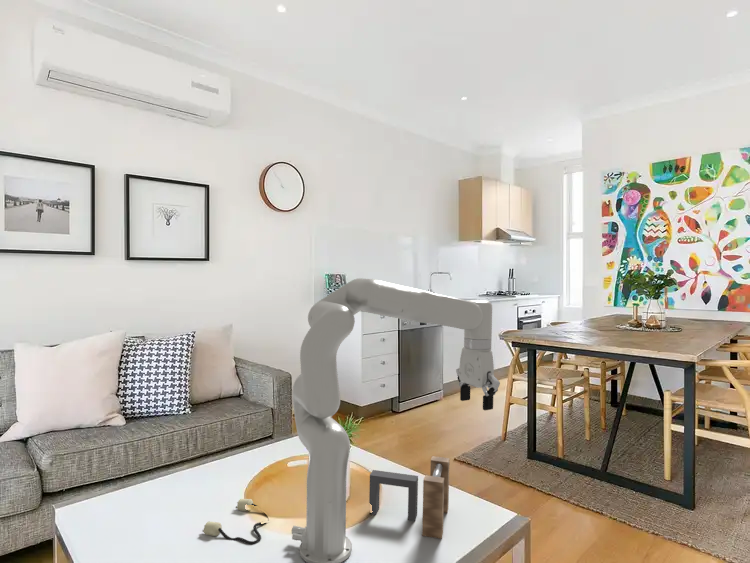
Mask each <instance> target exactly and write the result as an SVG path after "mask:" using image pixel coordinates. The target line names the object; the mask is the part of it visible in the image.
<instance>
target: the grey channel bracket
mask: <svg viewBox="0 0 750 563" xmlns="http://www.w3.org/2000/svg"><path fill="white" fill-rule="evenodd" d="M380 485H387V486H395V487H401V488H408V494H407V495H408V496H407V498H408V499H407V521H411V522H416V519H417V518H418V504H419V503H418V499H419V498H418V497H419V496H418V494H419V493H418V492H419V490H418V489H419V475H414V474H406V473H397V472H391V471H384V470H376V469H373V470H371V472H370V474H369V492H368V493H369V496H368V497H369V500H368V504H369V503H370V504H371V505H372V511H373V512H372V514H371V515H374V516H377V515H378V512H379V510H380V488H381V487H380Z"/></svg>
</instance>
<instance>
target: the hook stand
mask: <svg viewBox="0 0 750 563" xmlns="http://www.w3.org/2000/svg"><path fill="white" fill-rule="evenodd" d="M450 460H451V458H450V457H443V456H442V457H441V456H434V455H432V456H431V458H430V469H429V470H430V472H429V473H430V475H427V474H426V475H425V476H424V478H423V480H422V482H423V485H422V525H421V526H422V528H421V529H422V532H421V533H422V534H421V536H423V537H427V538H434V539H439V540H442V539H443V535H444V514H448V512H449V506H450V505H449V504H450V503H449V502H450V501H449V498H450V497H449V494H450Z"/></svg>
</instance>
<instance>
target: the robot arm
mask: <svg viewBox="0 0 750 563" xmlns="http://www.w3.org/2000/svg"><path fill="white" fill-rule="evenodd" d="M359 312H364V313H368V314H374V315H378V316H383V317H388V318H394V319H399V320H404V321H409V322H414V323H425V324H432V325H438V326H444V327H448V328H454V329H459V330H463V334H464V335H463V339H464V340H463V346H462V348H461V352H460V353H461V354H460V358H459V367H458V368H456V369H455V372H456V376H457V381H458V385H459V387H460V388H459V390H460V391H459V392H460V397H459V401H461V402H465V401H470V400H471V387H474V388H479V389H482V391H483V395H482V410H483V411H489V410H493V409H494V396H496V393H497V392H498V390H499V387H500V384H501V382H500V381H499V379H498V378H497V377H495V374H494V373H495V367H494V365H495V364H494V356H493V351H492V333H493V304H492V302H491V301H489V300H483V299H470V300H466V299H460V298H457V297H452V296H447V295H443V294H438V293H434V292H431V291H428V290H427V291H426V290H424V289H419V288H415V287H410V286H406V285H402V284H398V283H394V282H393V283H392V282H388V281H385V280H384V281H383V280H379V279H373V278H363V277H362V278H361V277H359V278H355V279H352V280H351V281H349V282H346V283H345V284H344V285H342V286H340V287H339V288H337V289H336V290H334V291H333V292H331V293H330V294H328V295H326V296H325V297H323V298H321V299H320V300H318V301H317V302H315V303H314V304H313V306H311V308H310V309H309V312H308V314H307V321H308V325H309V329H308V331H307V333H306V334H305V336H304V337H303V340H302V343H301V346H300V352H299V353H300V354H299V359H300V360H299V361H300V362H299V363H300V374H299V375H298V376H297V378H296V379H295V380H294V382H293V385H292V394H291V395H292V403H293V404H292V406H293V413H294V421H295V427H296V428H295V429H296V432H297V437H298V439H299V441H300V443H301V444H302V445H303V446H304V447H305V448H306V450H307V452H308V454H309V463H308V466H307V474H306V519H305V520H306V522H305V523H306V524H305V525H306V526H304V527H301V526H299V525H293V526H292V527H291V539H292V540H294V541H300V542H301V543H300V544H299V555H300V557H301V559H302V560H303V561H305V562H306V563H343V562H344V561H346V560H347V559H348V558H349V557H350V555H351V554H352V552H353V551H352V550H353V549H352V548H353V546H352V545H353V543H352V541H351V540H350V538H348V536H346V534H347V533H346V530H347V529H346V528H347V527H346V526H347V525H346V524H347V523H346V522H347V520H346V519H347V473H348V472H347V470H348V462H349V456H350V450H351V441H350V437H349V435H348V433H347V431H346V430H345V428H344V427H343V426H342V425H341V424H340V422H339V423H338V422H337V421H336V420H335V419H334V418H333V416H335V414H336V413H337V412H338V410H339V409H340V407H341V406H340V405H341V390H340V384H339V377H338V375H339V374H338V368H337V367H338V366H337V355H338V354H337V353H338V349H339V347H340V346H341V345H342V343H343V342H344V340H346V339H347V337H349V335H351V333H352V331H353V330H354V327H355V322H356V321H355V315H356V314H358V313H359Z"/></svg>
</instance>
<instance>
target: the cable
mask: <svg viewBox="0 0 750 563" xmlns="http://www.w3.org/2000/svg"><path fill="white" fill-rule="evenodd" d="M236 504H237V506H235V509H237V510H238V511H242V512H247V511H246V509H245V505H246V504H247V505H254V506H258V505H257V504H255V503H254V501H253V499H251V498H239V499H238V501H237V502H236ZM261 522H262V521H261ZM261 522H260V521H259V522H256V523H255V524H253V532H254V533H255V535H256V536H257V539H255V540H254V541H253V540H252V541H251V540H249V539H245V538H243V537H239V536H238V537H237V536H236V537H230V536H229V535H227V534H226V532H224V530H223V527H222V524H221V522H216V521H207V522H206V523H205V524H204V527H203V529H202V533H203V534H204V535H205V536H213V537H217V536H219V535H222V537H224V539H225V540H229V541H239V542H242V543H244V544H246V545H255V544H258V543H260V542H261V539H262V536H261V533H259V531H258V529H257V527H260V526H263V525H262V524H261Z"/></svg>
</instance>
